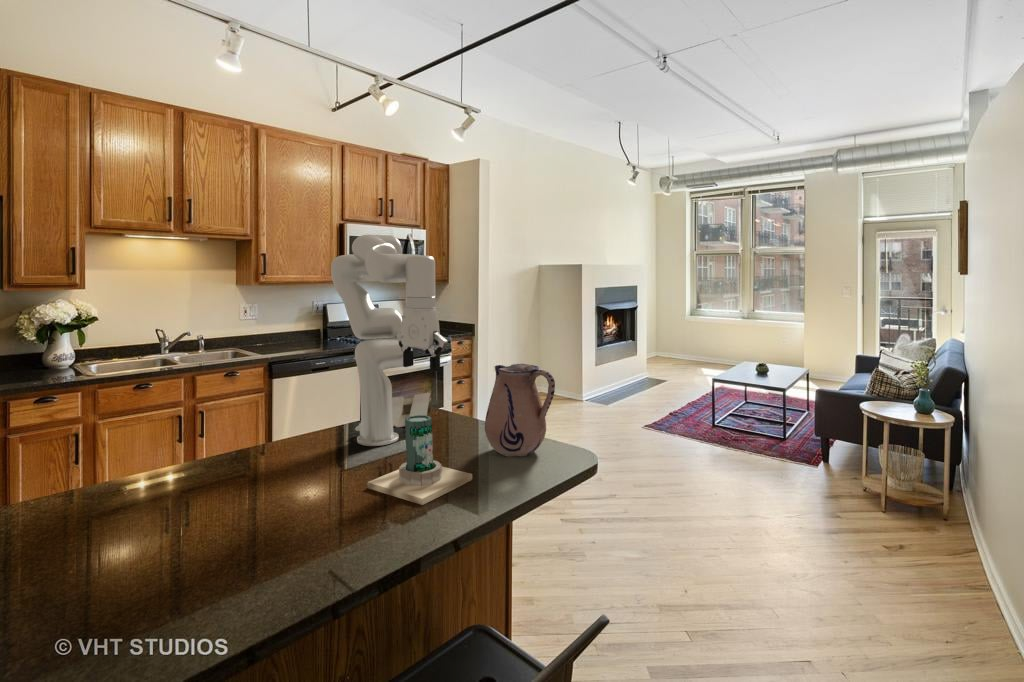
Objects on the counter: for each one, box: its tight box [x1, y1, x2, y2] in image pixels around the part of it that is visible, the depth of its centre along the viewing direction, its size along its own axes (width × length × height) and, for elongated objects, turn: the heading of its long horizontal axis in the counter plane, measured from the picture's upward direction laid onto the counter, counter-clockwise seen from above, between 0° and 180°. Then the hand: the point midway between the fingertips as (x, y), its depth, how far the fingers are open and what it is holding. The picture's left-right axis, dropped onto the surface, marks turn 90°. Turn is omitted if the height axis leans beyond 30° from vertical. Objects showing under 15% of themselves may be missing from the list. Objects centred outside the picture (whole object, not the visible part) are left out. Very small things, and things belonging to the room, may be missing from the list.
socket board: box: [367, 459, 473, 506], centre depth 136 cm, size 18×18×4 cm
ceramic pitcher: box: [484, 363, 556, 457], centre depth 158 cm, size 18×21×25 cm
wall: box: [392, 392, 431, 428], centre depth 194 cm, size 16×9×15 cm
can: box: [404, 415, 434, 472], centre depth 135 cm, size 6×6×15 cm
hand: (421, 368), depth 145 cm, fingers open, 9 cm apart
